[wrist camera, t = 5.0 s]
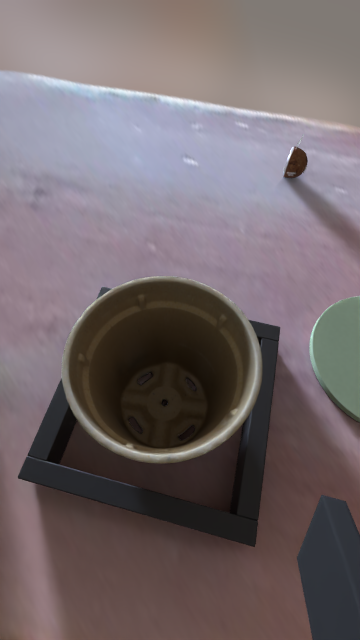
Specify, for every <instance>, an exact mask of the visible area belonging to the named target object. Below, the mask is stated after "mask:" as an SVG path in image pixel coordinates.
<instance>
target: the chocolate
mask: <svg viewBox="0 0 360 640" xmlns="http://www.w3.org/2000/svg"><path fill="white" fill-rule="evenodd" d="M303 135H304V134H303ZM302 138H303V136H302ZM302 138H301V139H300V141H299V143H298V144H297V146H296V147H295V146H294V148H292V150H291V153H290V155H289V157H288V159H287V162H286V164H285V168H284V172H283V175H284V177H287V178H294V177H297V176H299V175H301V174H302V172H303V171H305V170H306V167H307V156H306V153H305V152H304V151H303V150H301V149H300V148H298V145H299V144H300V142H301V140H302ZM303 173H304V172H303Z"/></svg>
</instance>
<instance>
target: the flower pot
mask: <svg viewBox="0 0 360 640" xmlns="http://www.w3.org/2000/svg"><path fill="white" fill-rule="evenodd" d="M147 373H152V374H153V377H152V378H150V379H149V380H147V381H145V382H144V383H142V385H140V384H139V383H138V379H139V378H140V377H142V376H144V375H146V374H147ZM187 378H189V380H191V381H192V383H193V384H194V385H195V387H196V391H193V389H192V388H191V387H188V386H189V385H188V383H187V382H186V379H187ZM261 382H262V354H261V348H260V345H259V342H258V338H257V336H256V333H255V331H254V329H253V327H252V325H251V324H250V322H249V320H248V319H247V318H246V316H245V315H244V313H243V312H242V311H241V310H240V309H239V308H238V307H237V306H236V304H235V303H233V302H232V301H230V300H229V298H227V297H225V296H224V295H223V294H221V293H220V292H218V291H217V290H215V289H213V288H211V287H209V286H207V285H205V284H203V283H199V282H197V281H194V280H189V279H184V278H180V277H173V276H158V277H147V278H141V279H136V280H133V281H130V282H127V283H124V284H121V285H119V286H117V287H115V288H113V289H111V290H110V291H108V292H106V293H105V294H104V295H102V296H101V297H100V298H98V299H97V300H96V301H95V302H93V303H92V304H91V305H90V306H89V307H88V308H87V309H86V310H85V311H84V313H83V314H82V316H81V317H80V318H79V320H78V321H77V322H76V324H75V325H74V327H73V328H72V331H71V332H70V334H69V336H68V339H67V343H66V345H65V349H64V352H63V358H62V383H63V388H64V392H65V395H66V399H67V401H68V403H69V405H70V408H71V410H72V412H73V414H74V416H75V417H76V419H77V420H78V422H79V423H80V424H81V426H82V427H83V428H84V429H85V431H86V432H87V433H88V434H89V435H90V436H91V437H92V438H93V439H95V440H96V441H97V442H98V443H99V444H101V445H102V446H104V447H105V448H107V449H109V450H110V451H112V452H114V453H116V454H118V455H121V456H123V457H126V458H129V459H132V460H136V461H140V462H145V463H174V462H181V461H186V460H189V459H193V458H196V457H198V456H201V455H203V454H205V453H208V452H210V451H212V450H213V449H215V448H217V447H218V446H220V445H221V444H223V443H224V442H225V441H226V440H228V439H229V438H230V437H231V436H232V435H233V434H234V433H235V432H236V431H237V430H238V429H239V428H240V426H241V425H242V424H243V423H244V421H245V420H246V419H247V417H248V416H249V414H250V412H251V410H252V409H253V407H254V405H255V402H256V400H257V397H258V394H259V390H260V386H261ZM162 400H167V403H168V404H167V406H163V405H162ZM130 417H134V418H135V419H136V421H137V423H138V425H139V426H140V427H141V429H142V430H143V432H142V433H141V434H140V433H139V432H138V431H136V430H135V429H134V428H133V426H132V425H131V424H130V423H129V418H130ZM190 426H194V427H195V430H194V432H193V434H192V435H191V436H189V437H188V438H187V439H185V440H180V439H179V435H181V434H182V433H184V432H185V431H186V430H187V429H188V428H189V427H190Z"/></svg>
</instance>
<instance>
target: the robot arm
mask: <svg viewBox="0 0 360 640" xmlns="http://www.w3.org/2000/svg"><path fill="white" fill-rule="evenodd" d="M297 561H298V566H299V571H300V576H301V582H302V587H303V592H304V597H305V602H306V607H307V612H308V618H309V623H310V628H311V633H312V638H313V640H360V534H359V532H358V530H357V527H356V525H355V522H354V520H353V518H352V515H351V513H350V510H349V508H348V506H347V503H346V501H342V500H339V499H335V498H332V497H328V496H324V495H321V498H320V500H319V503H318V505H317V508H316V511H315V513H314V516H313V518H312V521H311V523H310V526H309V528H308V531H307V533H306V536H305V538H304V541H303V544H302V546H301V549H300V551H299V554H298V556H297Z"/></svg>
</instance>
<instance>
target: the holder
mask: <svg viewBox="0 0 360 640" xmlns="http://www.w3.org/2000/svg"><path fill="white" fill-rule="evenodd" d="M110 290H111V288H106V287H102V288H101V290H100V293H99V295H98V297H97V299H98V298H100V297H101V296H102V295H104V294H105V293H106V292H108V291H110ZM249 322H250V324H251V325H252V327H253V329H254V331H255V333H256V336H257V338H258V342H259V345H260V348H261V354H262V382H261V386H260V390H259V394H258V397H257V400H256V402H255V405H254V407H253V409H252V410H251V412H250V414H249V416H248V417H247V419H246V420H245V421H244V423H243V427H242V434H241V441H240V447H239V454H238V460H237V467H236V473H235V480H234V486H233V493H232V500H231V506H230V513H228V512H224V511H221V510H217V509H214V508H210V507H207V506H203V505H199V504H196V503H192V502H189V501H185V500H182V499H178V498H175V497H171V496H168V495H164V494H161V493H157V492H154V491H150V490H147V489H143V488H139V487H136V486H132V485H129V484H125V483H122V482H118V481H115V480H111V479H108V478H104V477H101V476H97V475H94V474H90V473H87V472H83V471H79V470H76V469H72V468H69V467H65V466H62V465H59V463H60V461H61V458H62V456H63V453H64V451H65V448H66V446H67V443H68V441H69V438H70V436H71V433H72V430H73V428H74V425H75V423H76V420H77V419H76V417H75V416H74V414H73V412H72V410H71V408H70V405H69V403H68V401H67V399H66V395H65V392H64V388H63V383H62V378H61V381H60V383H59V385H58V387H57V390H56V392H55V394H54V396H53V399H52V401H51V403H50V405H49V408H48V410H47V412H46V414H45V417H44V419H43V421H42V423H41V426H40V428H39V430H38V433H37V435H36V437H35V439H34V442H33V444H32V446H31V448H30V451H29V453H28V456H27V457H26V460H25V462H24V464H23V467H22V469H21V471H20V473H19V476H18V478H19V479H22V480H26V481H29V482H33V483H36V484H40V485H43V486H46V487H50V488H53V489H57V490H60V491H64V492H67V493H70V494H74V495H77V496H81V497H84V498H88V499H91V500H95V501H98V502H101V503H105V504H108V505H112V506H115V507H119V508H122V509H125V510H129V511H132V512H136V513H139V514H143V515H146V516H150V517H153V518H156V519H160V520H163V521H167V522H170V523H174V524H177V525H181V526H184V527H187V528H191V529H194V530H198V531H201V532H205V533H208V534H211V535H215V536H218V537H222V538H225V539H229V540H232V541H236V542H239V543H242V544H246V545H249V546H253V547H255V544H256V536H257V527H258V518H259V509H260V500H261V492H262V483H263V474H264V466H265V457H266V448H267V439H268V431H269V422H270V413H271V405H272V396H273V387H274V378H275V370H276V361H277V352H278V344H279V343H278V341H279V335H280V327H278V326H273V325H269V324H265V323H260V322H256V321H251V320H249Z"/></svg>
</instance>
